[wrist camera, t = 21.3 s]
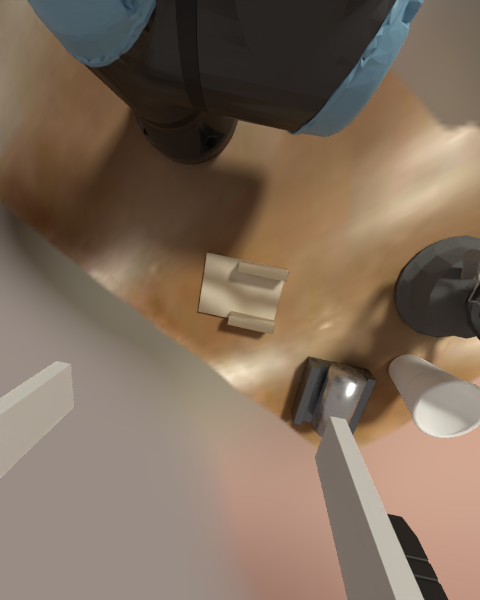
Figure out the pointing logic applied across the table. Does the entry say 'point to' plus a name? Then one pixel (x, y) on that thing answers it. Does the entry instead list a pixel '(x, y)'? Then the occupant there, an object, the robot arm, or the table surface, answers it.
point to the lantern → (442, 289)
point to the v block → (313, 386)
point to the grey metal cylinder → (338, 396)
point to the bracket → (242, 291)
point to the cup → (436, 397)
